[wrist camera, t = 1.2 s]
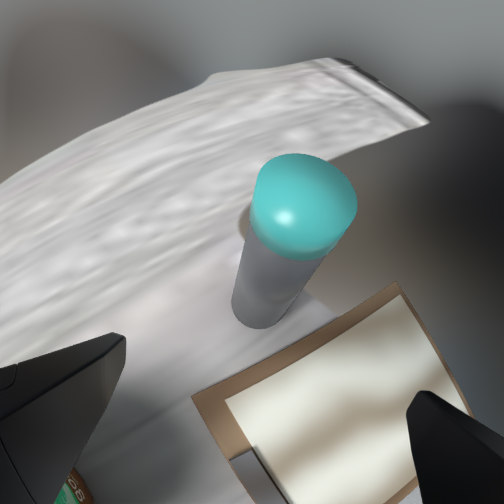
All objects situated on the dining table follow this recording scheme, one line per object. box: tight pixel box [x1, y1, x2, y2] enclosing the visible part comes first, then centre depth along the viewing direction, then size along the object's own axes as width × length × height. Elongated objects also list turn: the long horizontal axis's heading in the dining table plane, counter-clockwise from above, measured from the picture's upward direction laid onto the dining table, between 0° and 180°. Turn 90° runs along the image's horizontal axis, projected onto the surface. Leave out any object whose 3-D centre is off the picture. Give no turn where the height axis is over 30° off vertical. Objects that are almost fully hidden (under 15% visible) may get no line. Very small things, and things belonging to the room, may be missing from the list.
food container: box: [54, 467, 94, 504], centre depth 10 cm, size 12×6×10 cm, turn 61°
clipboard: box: [191, 281, 476, 504], centre depth 19 cm, size 16×19×1 cm
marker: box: [231, 154, 357, 329], centre depth 18 cm, size 4×4×13 cm
